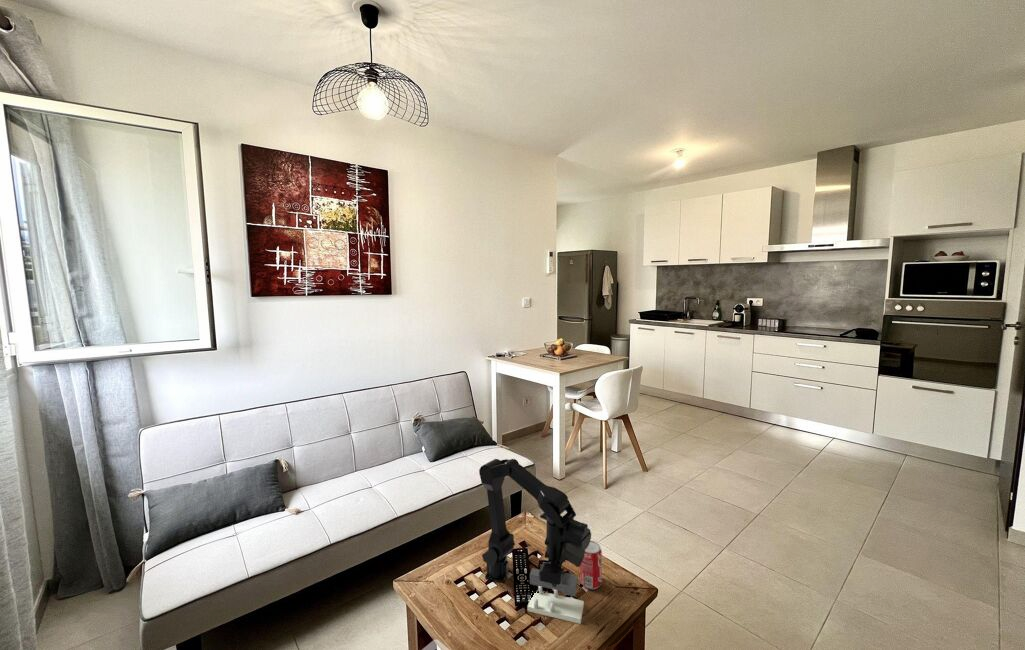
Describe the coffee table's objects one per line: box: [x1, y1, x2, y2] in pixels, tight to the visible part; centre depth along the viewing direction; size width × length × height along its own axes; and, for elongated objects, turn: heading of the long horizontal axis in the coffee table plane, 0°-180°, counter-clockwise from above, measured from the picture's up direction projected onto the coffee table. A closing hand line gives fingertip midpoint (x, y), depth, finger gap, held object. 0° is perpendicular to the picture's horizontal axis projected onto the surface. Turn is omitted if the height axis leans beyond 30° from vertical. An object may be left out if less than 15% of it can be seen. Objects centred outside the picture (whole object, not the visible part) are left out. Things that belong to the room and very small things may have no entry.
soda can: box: [579, 540, 603, 590], centre depth 134 cm, size 7×7×13 cm
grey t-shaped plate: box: [529, 567, 579, 598], centre depth 124 cm, size 14×5×3 cm, turn 73°
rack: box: [526, 586, 585, 625], centre depth 124 cm, size 16×7×4 cm, turn 73°
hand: (555, 583), depth 124 cm, fingers closed on grey t-shaped plate, 3 cm apart
